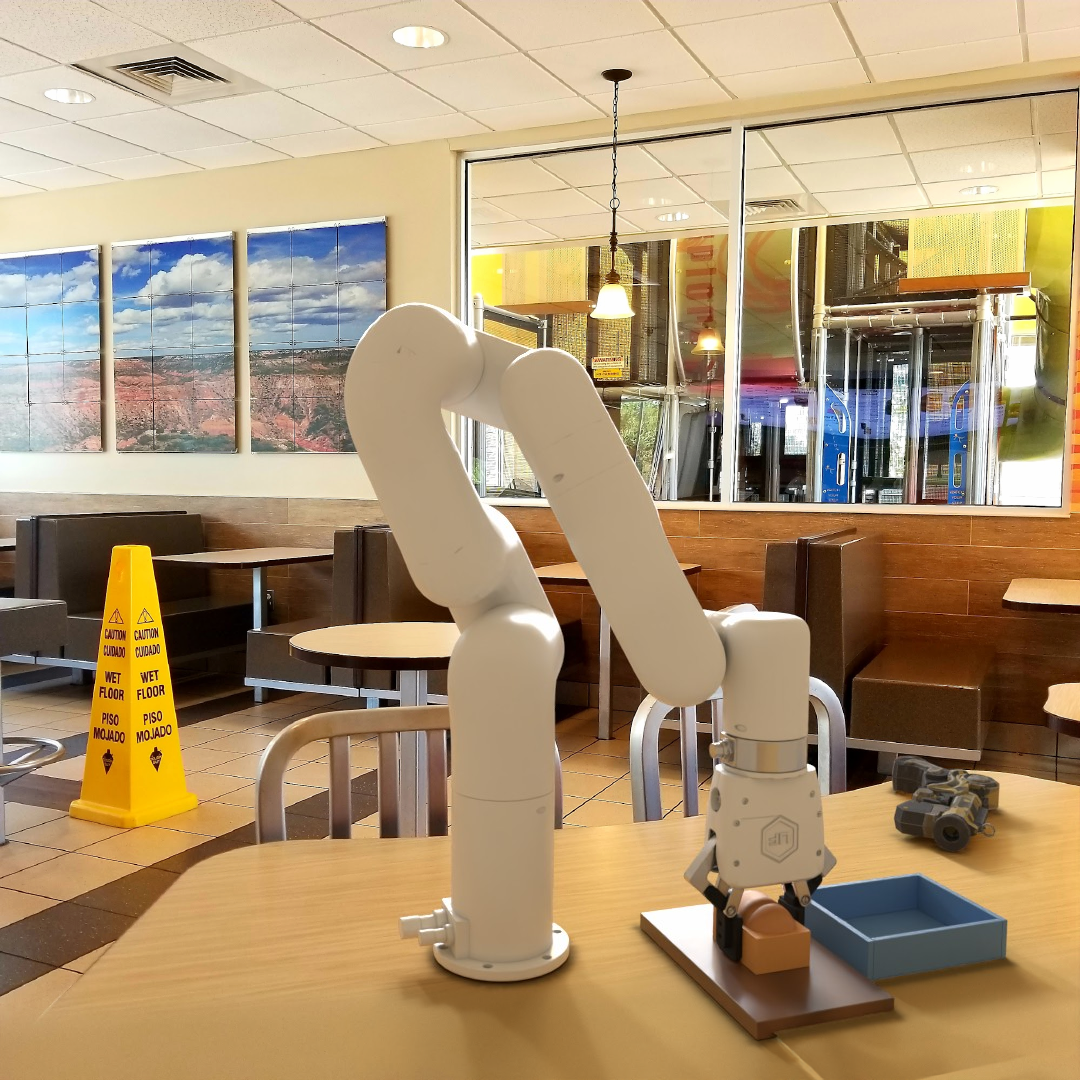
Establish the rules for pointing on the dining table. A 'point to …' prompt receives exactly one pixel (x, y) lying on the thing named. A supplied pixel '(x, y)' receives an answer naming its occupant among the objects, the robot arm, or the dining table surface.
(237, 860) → the dining table surface
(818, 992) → the board
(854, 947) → the bin
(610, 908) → the dining table surface
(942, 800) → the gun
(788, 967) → the bread
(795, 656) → the robot arm
